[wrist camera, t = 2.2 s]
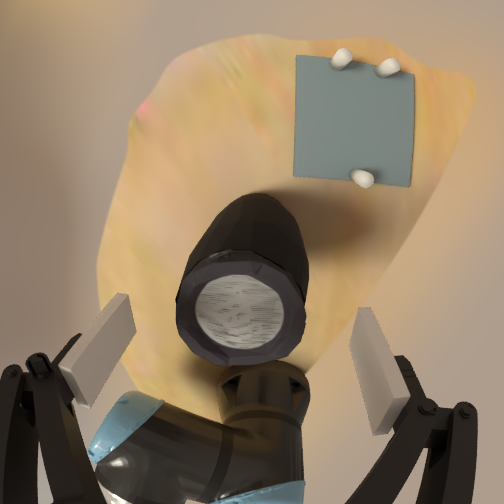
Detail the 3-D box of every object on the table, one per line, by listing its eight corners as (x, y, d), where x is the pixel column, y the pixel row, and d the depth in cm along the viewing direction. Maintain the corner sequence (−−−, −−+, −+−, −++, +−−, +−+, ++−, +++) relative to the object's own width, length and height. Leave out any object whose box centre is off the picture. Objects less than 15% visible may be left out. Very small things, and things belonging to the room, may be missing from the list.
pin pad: (405, 186, 31) (424, 194, 27) (293, 176, 32) (296, 182, 27) (410, 75, 26) (429, 67, 21) (296, 56, 27) (299, 42, 22)
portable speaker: (309, 226, 34) (347, 326, 16) (250, 273, 37) (231, 394, 19) (261, 170, 32) (248, 214, 14) (202, 223, 35) (134, 314, 17)
